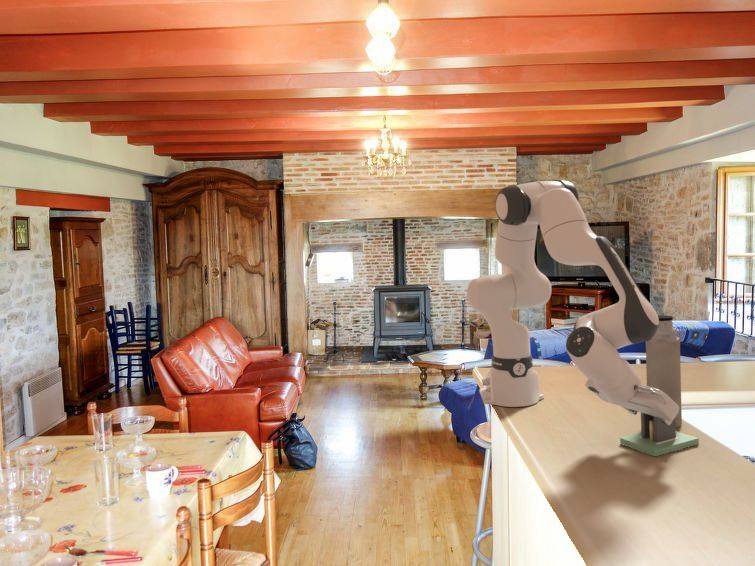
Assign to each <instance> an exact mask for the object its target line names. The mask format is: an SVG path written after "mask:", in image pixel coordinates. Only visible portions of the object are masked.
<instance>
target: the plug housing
mask: <svg viewBox="0 0 755 566" xmlns="http://www.w3.org/2000/svg"><path fill="white" fill-rule="evenodd" d="M660 419H661V418H659V417H655V416H652V415H648V414H645V413H642V412H640V427H641V429H640V430H641V432H640V433H641V436H642V438H648V437H650V426H649V421H650V420H652V421H654V442H656V443H659V442H662V441H666V440H670V439H673V438H676V431H677V429H676V428H677V427H676V422H675V418H674V420H673V421H672V423H671V424H670V425H667V424H664V423H663V422H662V421H661V420H660Z"/></svg>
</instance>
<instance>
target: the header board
mask: <svg viewBox="0 0 755 566" xmlns="http://www.w3.org/2000/svg"><path fill="white" fill-rule="evenodd" d="M649 426H650V437H648V438H642V436H641V432H638V433H634V434H629V435H626V436H621V437H619V439H620V443H622V444H624V445H627V446H630V447H632V448H631V449H633V448H635V449H637V450H636V451H638V450H640V451H639V452H641V451H643V452H645V453H644V454H646V453H648V454H647V455H649V454H650V455H649V456H651V455H652V456H651V457H654V456H657V457H660V456H659V455H661V456H663V455H662V454H664V455H667V454H666V453H668V454H670V453H669V452H671V453H674V452H673V451H675V452H677V451H676V450H678V451H680V450H679V449H681V450H683V449H682V448H685V449H687V448H686V447H688V448H691V447H690V446H692V447H694V446H693V445H695V446H698V444H700V443H699V442H700V440H699V437H696V436H694V435H690V434H687V433H684V432H680V431H677V430H676V438H673V439H670V440H666V441H662V442H659V443H656V442H654V421H652V420H650V421H649ZM622 444H621V445H622ZM624 445H623V446H624ZM627 446H626V447H627ZM630 447H629V448H630ZM635 449H634V450H635ZM643 452H642V453H643Z"/></svg>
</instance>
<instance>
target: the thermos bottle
mask: <svg viewBox="0 0 755 566" xmlns="http://www.w3.org/2000/svg"><path fill="white" fill-rule="evenodd" d="M657 316H658V318H659V322H660V324H659V327H658V330H657V332H656V334H655V335H654V337H653V338H652V339H651V340H649V341H645V365H646V367H645V370H646V371H645V372H646V373H645V374H646V386H648V387H652V388H656V389H659V390H661V391H662V392H664V393H665V394H666V395H668V396H669V397H670V398H671V399H672V400H673V401H674V402H675V403H676V404H677V405H678V406H679V412H678V414H677V415H676V417H675V422H676V428H679V427H681V426H682V424H683V421H682V420H683V418H682V417H683V416H682V378H681V377H682V374H681V373H682V371H681V370H682V368H681V338H680V337H678V335H677V334H678V331H677V329H676V328H675V327H673V326H674V324H673V323H674V322H673V319H674V317H673V316H671V315H661V314H660V315H658V314H657Z"/></svg>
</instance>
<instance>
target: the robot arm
mask: <svg viewBox="0 0 755 566" xmlns="http://www.w3.org/2000/svg"><path fill="white" fill-rule="evenodd" d="M579 202H580V197H579V193H578V189H577V188H576V186H575V184H573V183H572V182H570V181H569V180H562V179H557V180H535V181H533V182H526V183H520V184H511V185H507V186H504V187H503V188H501V189H500V190H499V191H498V193H497V195H496V197H495V203H494V205H495V206H494V207H495V214H496V216H497V218H498V223H497V231H496V238H495V248H494V255H495V256H494V257H495V258H496V260H497V261H498V262H499V263H500V264H501V265H503V266H504V267H506V268H509V269H510V271H509V272H507V273H502V274H489V275H488V274H486V275H483V276H480V277H477V278H473V279H471V281H470V282H469V283H468V285H467V288H466V298H467V299H466V300H467V302H468V304H469V305H470V307H471V308H472V309H473V310H474V311H476V312H477V313H479V314H480V315H481V316H482V317H483V318H484V319H485V321H486V322H487V324H488V327H489V329H490V332H491V333H490V334H491V341H492V342H491V343H492V353H493V354H492V356H491V364H490V365H491V368H490V369H489V371H488V372H487V373H486V375H485V377H484V378H481V379H482V382H481V383H482V386H485V387H481V388H479V390H478V391H479V394H480V397H481V401H482V402H483V404H484V405H492V406H493V405H495V406H499V407H507V408H518V407H519V408H520V407H528V406H533V405H535V404H537V403H539V401H541V400H543V399H544V398H545V395H544V394H543V393H540V386H539V379H538V378H539V376H538V372H537V371H536V370H534V369H533V367H534V365H533V364H534V363H533V362H534V359H533V355H532V354H531V337H530V336H531V334H530V331H529V328H528V327H527V326H526V325H525V324H523V323H521V322H520V321H517V320H515V319H513V318H512V315H511V311H514V310H516V311H517V310H526V309H533V308H536V307H540V306H543V305H546V304H548V302H549V300H550V299H551V296H552V285H551V284H552V283H551V282H550V280H549V278H548V277H547V276H546V275H545V274H544V273H543V272H541V271H540V270H539V269H538V266H537V265H536V262H535V251H536V250H535V249H536V243H537V242H536V241H537V233H538V226H539V229H540V232H541V236H542V238H543V242H544V245H545V248H546V250H547V252H548V254H549V255H550V257H551V258H552V259H553V260H554V261H556V262H557V263H560V264H562V265H566V266H576V267H577V266H579V267H580V266H598V267H600V268H601V269H602V270H603V271H604V272H605V274H606V275H607V278H608V280H609V281H610V284H611V285H612V286H613V288H614V290H615V292H616V294H617V295H618V297H619V300H618V301H617V302H616V303H614V304H611V305H608V306H606V307H603V308H601V309H599V310H598V309H597V310H594V311H592V312H588V313H586V314H584V315H582V316H580V317H578V318H577V319H576V321H575V323H574V325H573V328H572V331H571V332H570V333H569V334H568V336H567V338H566V341H565V350H566V352H567V354H568V356H569V357H570V359H571V361H572V362H573V364H574V365H575V366H576V367H577V370H579V371H580V372H581V374H582V375H584V376H585V377H586V378H587V380H586V382H585V384H584V386H585V388H586V389H587V390H589V391H590V392H592V393H593V394H594V395H595V396H597V398H599V399H600V400H602V401H604V402H606V403H609V404H612V405H614V406H615V405H616V406H619V407H621V408H622V409H624V410H625V411H627V412H628V413H629V414H630V415H631V414H632V415H633V416H636V415H637V414H638V413H641V412H642V413H645V414H648V415H652V416H655V417H659V418H661V419H660V420H661V421H662V422H663V423H664V424H667V425H670V424H671V423H672V421H673V420H674V418H675V417H676V415H677V414H678V412H679V406H678V405H677V404H676V403H675V402H674V401H673V400H672V399H671V398H670V397H669V396H668V395H666V394H665V393H664V392H662V391H661V390H659V389H656V388H652V387H648V386H647V385H644V384H642V378H641V375H640V374H639V372H638V371H637V370H636V369H635V368H634V367H633V366H632V365H631V364H630V363H629V362H628V361H627V360H626V359H624V358H623V357H621V356H620V353H619V351H618V349H621V348H624V347H628V346H631V345H635V344H640V343H644V342H645V343H646V341H649V340H651V339H652V338H653V337H654V335H655V334H656V332H657V330H658V327H659V324H660V322H659V318H658V316H657V315H658V313H657V311H656V310H655V308H654V307H653V306H652V303H651V302H650V301H649V300H648V298H647V297H646V295H645V294H644V293H643V291H642V290H641V288H640V286H639V285H638V283H637V281H636V280H635V278H634V277H633V274H632V273H631V271H630V269H629V268H628V266H627V265H626V262H625V261H624V260H623V258H622V257H621V254H620V253H619V252H618V250H617V249H616V248H615V246H614V245H613V243H612V242H611V241H610V240H608V238H606V237H604V236H601V235H599V236H598V234H596V233H594V231H593V229H591V227H590V225H589V221H588V220H587V219H588V218H586V217H587V216H586V214H585V213H584V210H583V208H582V206H581V205H580V203H579Z"/></svg>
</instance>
